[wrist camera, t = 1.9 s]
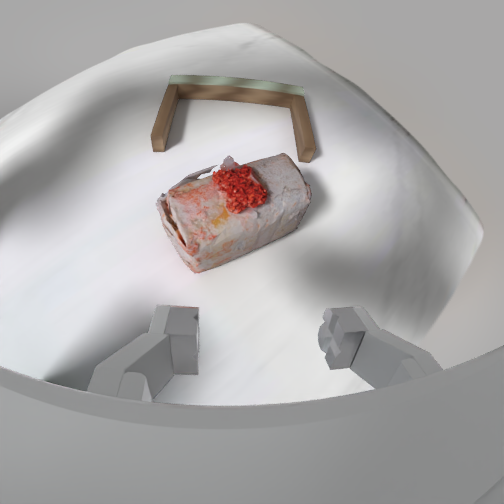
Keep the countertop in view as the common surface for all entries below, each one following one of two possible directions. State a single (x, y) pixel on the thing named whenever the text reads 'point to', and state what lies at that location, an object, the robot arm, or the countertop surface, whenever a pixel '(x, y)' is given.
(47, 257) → the countertop surface
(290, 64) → the countertop surface
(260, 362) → the countertop surface
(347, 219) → the countertop surface
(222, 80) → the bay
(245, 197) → the food item
